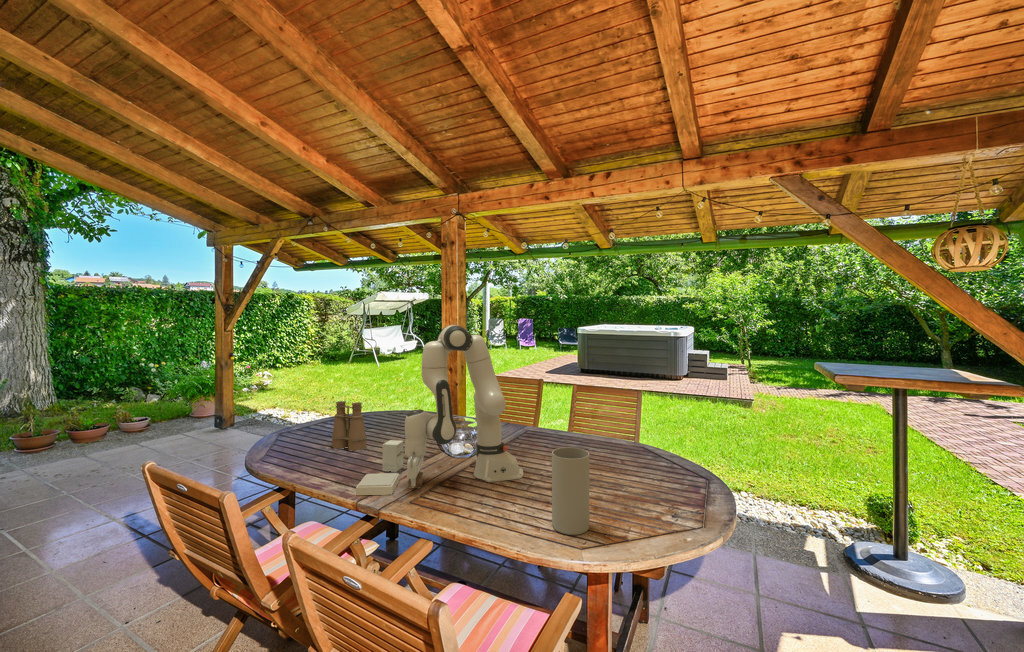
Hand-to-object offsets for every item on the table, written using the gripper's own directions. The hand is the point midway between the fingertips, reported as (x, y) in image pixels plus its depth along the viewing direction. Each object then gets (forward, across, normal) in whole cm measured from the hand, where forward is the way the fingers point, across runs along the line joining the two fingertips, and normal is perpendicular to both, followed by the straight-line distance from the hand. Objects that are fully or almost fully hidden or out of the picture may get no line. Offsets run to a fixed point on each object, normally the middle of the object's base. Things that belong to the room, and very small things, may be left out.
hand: (415, 481), depth 177 cm
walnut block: (+2, 0, 0) cm, 2 cm away
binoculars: (+2, +55, +45) cm, 71 cm away
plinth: (+2, -2, +15) cm, 15 cm away
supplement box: (+2, +21, +14) cm, 25 cm away
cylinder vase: (+2, -39, -58) cm, 70 cm away
